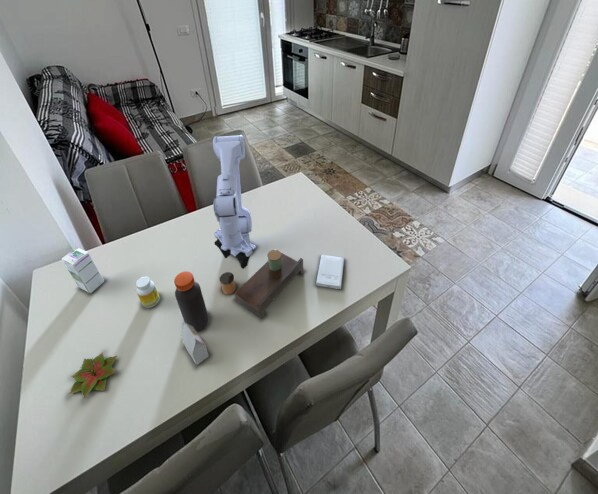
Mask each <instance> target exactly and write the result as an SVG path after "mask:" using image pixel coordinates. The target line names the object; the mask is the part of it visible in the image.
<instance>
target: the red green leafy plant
mask: <svg viewBox="0 0 598 494" xmlns="http://www.w3.org/2000/svg"><path fill="white" fill-rule="evenodd" d="M117 358H118V355H115V356H108V357H106V358H105V355H104V352H103V351H102V352H101V353H100V354H98V355H97V356H95V357H94V358H93V357H92V358H83V362H82V364H81V368H80V369H79V370H78V371H76V372H75V373H74V374H73V375H71V376H70V378H72V379H73V380H74V381H75V382H74V383H73V385H72V387H71V388H70V391H69V392H68V394H67V395H71V394H74V393H78V392H81V394H82V396H83V399H84V400H85V399H86V397H87V396H88V395H89V393H90V392H91V391H92V390H94V391H103V392H105V390H106V385H107V378H108V377H110V376H112V375H114V374H117V371H116V370H115V369H114V368H113V367H112V366H113V364H114V363H115V361H116V359H117Z"/></svg>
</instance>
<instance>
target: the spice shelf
mask: <svg viewBox="0 0 598 494" xmlns="http://www.w3.org/2000/svg"><path fill="white" fill-rule="evenodd" d="M281 264H282V266H281V268H280V269H279V270H278V271H272V270H270V269H269V264H268V260H267V261H266V262H265V263H263V265H262V266H261V267H260V268H258V270H257V271H256V272H255V273H254V274H253V275H252V276H251V277H249V278H248V280H247V281H245V283H244V284H242V285H241V286H240V288H238V289H236V290H235V291H234V292H233V294H234V299H235V301H236V302H237V303H239V304H240V305H242V306H243V307H244V308H246V309H247V310H248V311H250V312H252V313H253V314H255V315H256V316H257V317H258V318H259V319H262V318H263V317H264V316H265V314H266V313H265V310H266V309H267V308H268V306H270V305H271V303H272V302H273V301H274V300H275V299H276V298H277V297H278V295H279V294H281V292H283V290H284V289H285V288H286V287H287V286H288V284H290V282H291V281H292V280H293V279H294V278H295V277H296V276H297V274H298V275H302V274H303V272H304V258H302V257H300V258H299V259H298V260H296V259H294V258H293V257H290V256H288V255H286V254H284V253H283V252H281Z"/></svg>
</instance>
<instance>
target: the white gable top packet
mask: <svg viewBox="0 0 598 494" xmlns="http://www.w3.org/2000/svg"><path fill="white" fill-rule="evenodd" d="M185 323H186V322H183V326H182V330H181V333H180V336H181V340H182V342H183V345H184V347H185V349H186V350H187V352H188V354H189V355H190V357H191V359H192V360H193V362H194V363H195V365H196V366H198V365H199V364H201V362H203V361H204V360H206V359H207V358H208V357H209V356H210V354H209V353H208V349H207V345H206V343H205V342H204V340H203V339H202V338H201V335H200V334H199V333H198V331H196V330H195V328H194V327H193V326H191V325H188V324H187V323H186V324H185Z"/></svg>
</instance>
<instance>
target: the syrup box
mask: <svg viewBox="0 0 598 494" xmlns="http://www.w3.org/2000/svg"><path fill="white" fill-rule="evenodd" d="M61 261H62V263H63V264H64V266H65V268H66V269H67V271H68V272H69V274H70V275H71V277H72V279H73V280H74V281H75V284H76V285H77V286H78V288H79V289H80V290H83V291H84V292H87V293H88V294H92V293H93V292H95V291H96V290H97V289H98V288H99V287H100V286H101V285H103V284H104V283H105V279H104V277H103V275H102V274H101V272H100V270H99V268H98V267H97V265H96V263H95V261H94V259H93V258H92V256H91V254H90V252H88V251H86V250H84V249H81V248H80V247H77V246H76V247H75V248H74V249H72V250H71V251H69V252H68V253H67V254H66V255H64V256H63V257H62V258H61Z"/></svg>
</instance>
